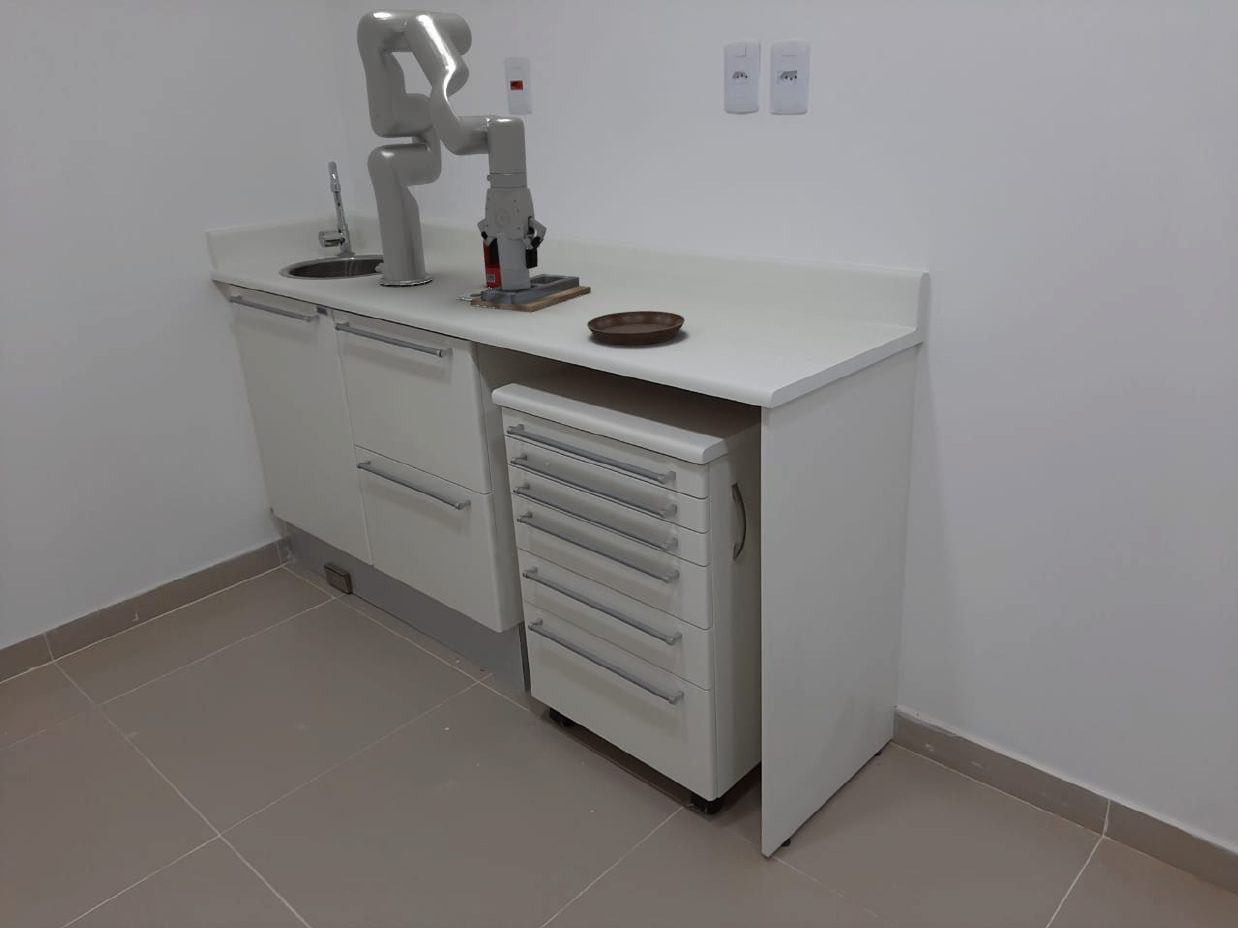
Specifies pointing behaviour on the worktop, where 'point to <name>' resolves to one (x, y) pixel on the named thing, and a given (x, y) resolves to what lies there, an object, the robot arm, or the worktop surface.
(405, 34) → the robot arm
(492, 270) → the canned food
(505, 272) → the skincare box
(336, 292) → the worktop surface
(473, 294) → the card
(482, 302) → the holder
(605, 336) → the plant saucer
